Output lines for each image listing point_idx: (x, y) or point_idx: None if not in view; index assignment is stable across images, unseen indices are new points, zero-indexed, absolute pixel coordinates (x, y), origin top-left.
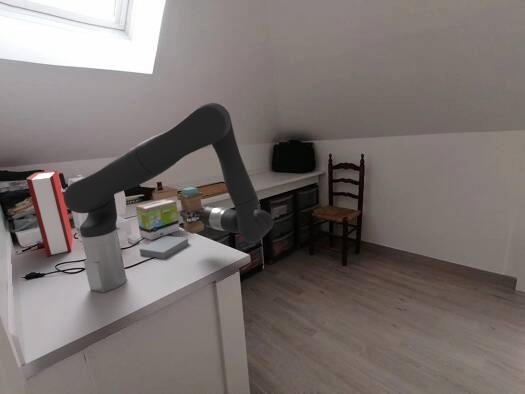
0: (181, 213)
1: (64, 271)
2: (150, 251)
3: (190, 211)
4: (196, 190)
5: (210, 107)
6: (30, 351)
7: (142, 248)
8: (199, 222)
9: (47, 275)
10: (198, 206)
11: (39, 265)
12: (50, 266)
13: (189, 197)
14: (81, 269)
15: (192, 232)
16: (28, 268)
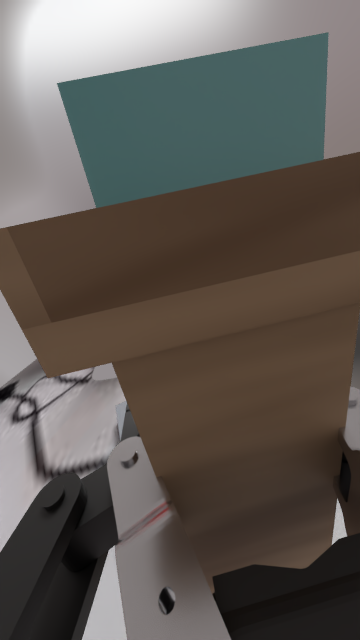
0: (128, 410)
1: (21, 403)
2: (120, 436)
3: (160, 473)
4: (295, 112)
5: None
6: None
7: (120, 408)
8: (286, 544)
9: (5, 402)
10: (297, 411)
11: (39, 367)
12: (38, 376)
13: (44, 274)
14: (30, 412)
15: None
16: (29, 369)
